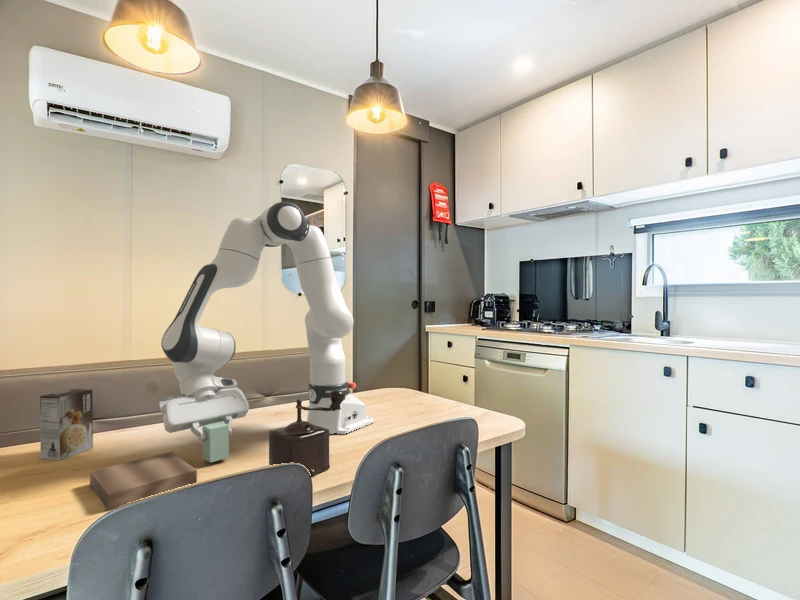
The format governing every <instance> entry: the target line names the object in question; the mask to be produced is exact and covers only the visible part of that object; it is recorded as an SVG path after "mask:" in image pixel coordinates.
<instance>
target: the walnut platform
mask: <svg viewBox="0 0 800 600" xmlns="http://www.w3.org/2000/svg"><path fill="white" fill-rule="evenodd" d="M89 477H90V478H89V487H91V489H92V491H93V492H94V493H95V495H96V496H97V498H98V499H99V500H100V502H101V503H102V504H103V506H104V507H105V509H106V508H107V509H108V510H107V509H106V510H107V511H109V512H110V511H112V509H113V510H115V509H114V508H116V507H119V506H121V505H124V504H127V503H129V502H133V501H136V500H139V499H141V498H145V497H148V496H151V495H155V494H158V493H161V492H165V491H168V490H172V489H175V488H178V487H182V486H185V485H188V484H193V483H196V482H197V483H198V481H197V480H198V470H197V469H196V468H195V467H193V466H192V465H191V464H189V463H188V462H186V461H185V460H183V459H182V458H180V457H179V456H178V455H176V454H175V453H173V452H172V451H170V452H165V453H161V454H158V455H152V456H150V457H145V458H141V459H136V460H133V461H128V462H124V463H120V464H115V465H112V466H107V467H103V468H99V469H95V470H91V471H89ZM119 508H120V507H119ZM116 509H117V508H116Z"/></svg>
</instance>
